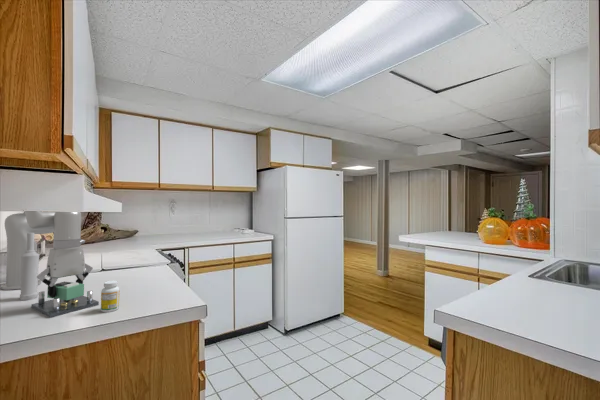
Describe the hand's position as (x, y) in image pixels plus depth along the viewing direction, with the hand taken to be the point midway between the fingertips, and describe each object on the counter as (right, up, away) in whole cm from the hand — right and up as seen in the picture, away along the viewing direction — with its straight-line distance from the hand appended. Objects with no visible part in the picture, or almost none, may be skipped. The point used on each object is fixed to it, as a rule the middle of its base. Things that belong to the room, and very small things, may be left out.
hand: (65, 293), depth 102 cm
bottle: (-20, -4, +7) cm, 22 cm away
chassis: (0, -4, 0) cm, 4 cm away
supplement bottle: (+17, -5, -2) cm, 18 cm away
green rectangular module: (0, -1, 0) cm, 1 cm away
